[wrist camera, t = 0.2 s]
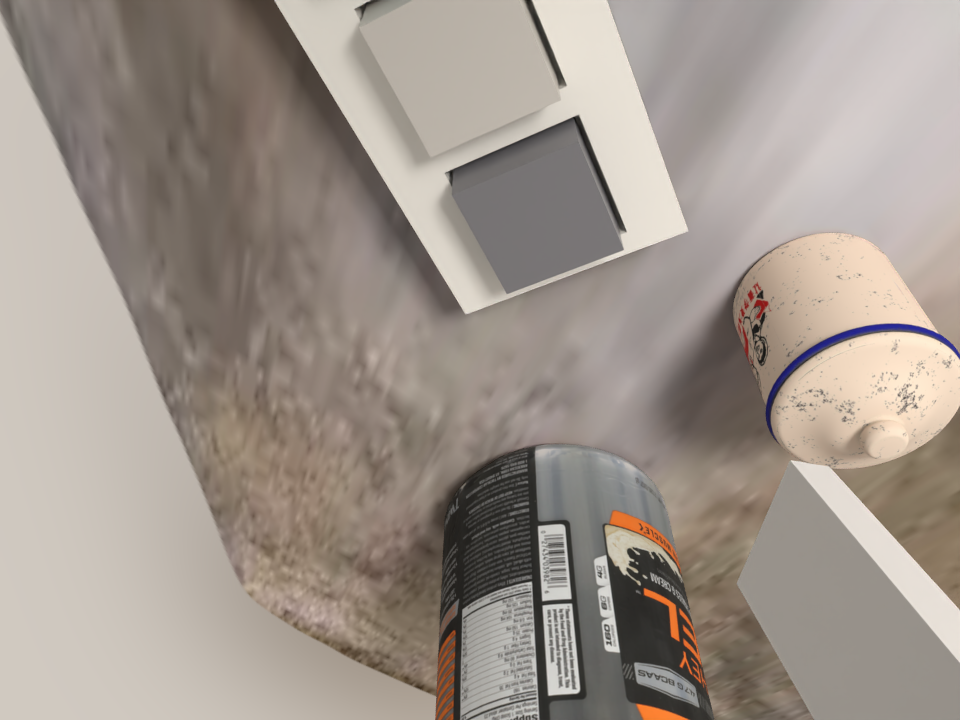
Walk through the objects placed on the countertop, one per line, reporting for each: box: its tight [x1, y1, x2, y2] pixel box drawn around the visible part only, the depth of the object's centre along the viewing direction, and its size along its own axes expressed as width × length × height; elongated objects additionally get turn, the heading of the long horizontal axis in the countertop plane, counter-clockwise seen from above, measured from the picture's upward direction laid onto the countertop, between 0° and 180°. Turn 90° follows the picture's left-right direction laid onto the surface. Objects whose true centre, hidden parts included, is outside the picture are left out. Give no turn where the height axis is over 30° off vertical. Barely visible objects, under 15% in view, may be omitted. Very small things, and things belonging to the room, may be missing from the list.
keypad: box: [274, 0, 688, 314], centre depth 34 cm, size 12×25×3 cm, turn 25°
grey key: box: [359, 0, 561, 157], centre depth 33 cm, size 6×6×3 cm
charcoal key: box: [452, 116, 624, 294], centre depth 38 cm, size 6×6×3 cm
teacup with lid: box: [733, 233, 960, 469], centre depth 42 cm, size 12×9×12 cm
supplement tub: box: [435, 444, 714, 720], centre depth 48 cm, size 16×16×26 cm
